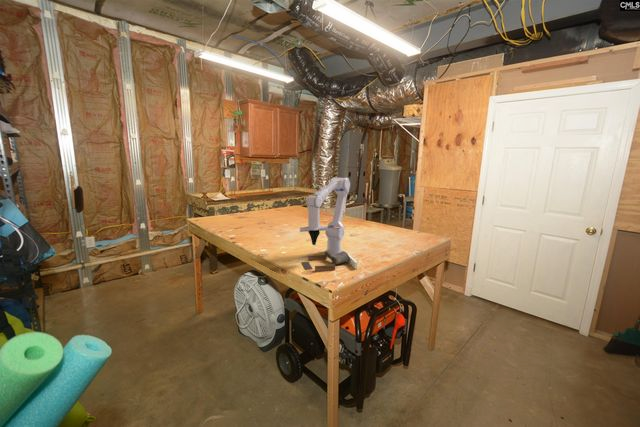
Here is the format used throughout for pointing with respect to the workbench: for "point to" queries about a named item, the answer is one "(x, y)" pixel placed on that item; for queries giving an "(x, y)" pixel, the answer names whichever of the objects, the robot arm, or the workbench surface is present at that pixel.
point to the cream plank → (352, 261)
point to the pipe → (338, 257)
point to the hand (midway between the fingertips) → (313, 244)
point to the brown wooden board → (322, 267)
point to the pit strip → (306, 265)
